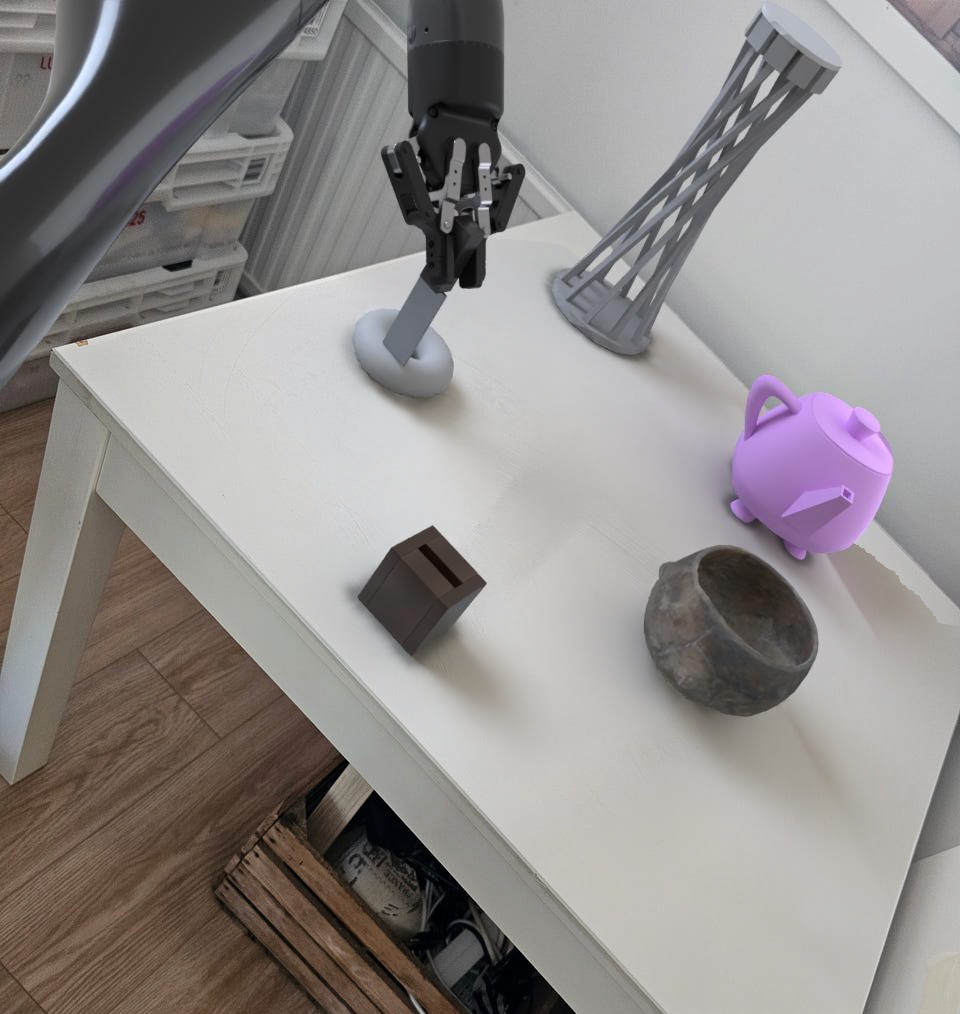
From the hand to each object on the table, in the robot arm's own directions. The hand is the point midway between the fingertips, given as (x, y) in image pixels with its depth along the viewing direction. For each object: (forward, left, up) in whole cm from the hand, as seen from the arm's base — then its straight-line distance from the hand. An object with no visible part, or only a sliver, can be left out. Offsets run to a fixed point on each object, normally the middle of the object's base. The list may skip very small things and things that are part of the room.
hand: (456, 285), depth 84 cm
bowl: (+24, -27, -13) cm, 38 cm away
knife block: (-4, -24, -13) cm, 28 cm away
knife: (-1, +2, -10) cm, 10 cm away
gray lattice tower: (+34, +24, -13) cm, 44 cm away
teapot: (+45, -5, -13) cm, 47 cm away
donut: (+2, +5, -13) cm, 14 cm away
